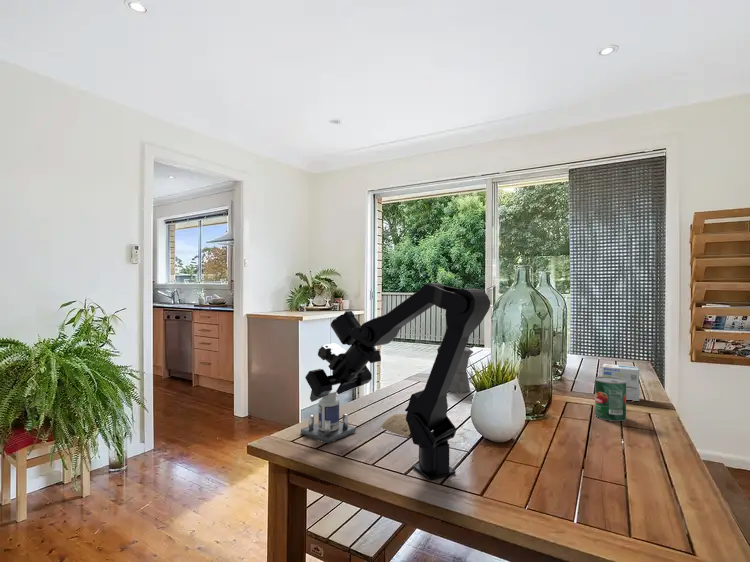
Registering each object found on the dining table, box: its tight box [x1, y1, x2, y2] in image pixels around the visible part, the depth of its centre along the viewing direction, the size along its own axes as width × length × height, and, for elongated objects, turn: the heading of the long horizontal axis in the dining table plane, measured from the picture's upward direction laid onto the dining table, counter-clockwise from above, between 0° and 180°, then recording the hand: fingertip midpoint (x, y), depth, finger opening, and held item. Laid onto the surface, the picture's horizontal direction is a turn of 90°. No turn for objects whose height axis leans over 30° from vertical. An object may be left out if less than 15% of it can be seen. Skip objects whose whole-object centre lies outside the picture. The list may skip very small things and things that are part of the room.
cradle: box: [300, 413, 357, 444], centre depth 104 cm, size 10×10×5 cm
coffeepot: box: [436, 346, 474, 394], centre depth 148 cm, size 15×9×18 cm, turn 44°
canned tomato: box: [594, 376, 627, 422], centre depth 117 cm, size 8×8×11 cm
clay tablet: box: [380, 413, 411, 438], centre depth 110 cm, size 14×10×3 cm
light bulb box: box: [602, 363, 641, 402], centre depth 137 cm, size 11×7×11 cm, turn 58°
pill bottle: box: [317, 388, 340, 432], centre depth 104 cm, size 5×5×10 cm
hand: (324, 396), depth 105 cm, fingers open, 9 cm apart
